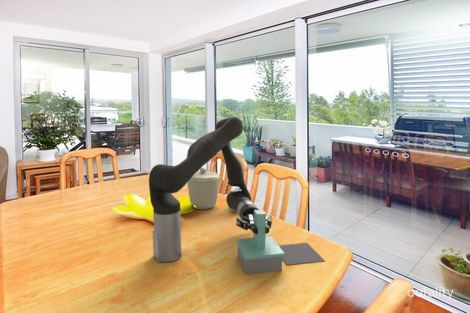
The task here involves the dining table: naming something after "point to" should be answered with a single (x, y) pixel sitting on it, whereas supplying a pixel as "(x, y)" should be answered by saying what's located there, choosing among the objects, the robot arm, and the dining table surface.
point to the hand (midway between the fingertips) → (262, 231)
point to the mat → (299, 254)
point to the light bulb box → (234, 189)
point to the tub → (260, 264)
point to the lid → (259, 241)
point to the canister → (203, 189)
